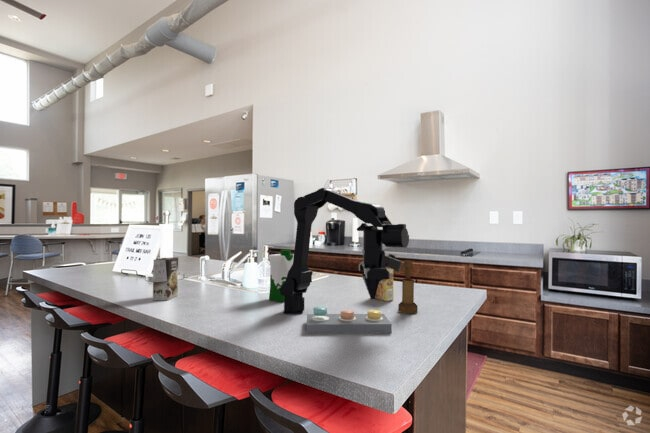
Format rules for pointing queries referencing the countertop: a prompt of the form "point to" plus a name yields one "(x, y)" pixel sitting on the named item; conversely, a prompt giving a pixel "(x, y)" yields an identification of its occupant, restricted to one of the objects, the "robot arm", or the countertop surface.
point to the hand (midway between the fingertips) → (372, 298)
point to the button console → (347, 324)
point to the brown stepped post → (407, 292)
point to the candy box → (386, 287)
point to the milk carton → (279, 273)
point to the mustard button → (374, 314)
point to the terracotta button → (347, 314)
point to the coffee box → (165, 278)
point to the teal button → (320, 311)
